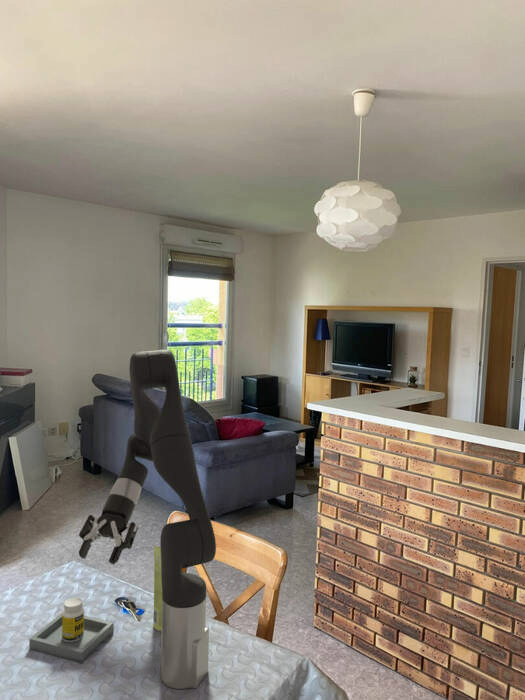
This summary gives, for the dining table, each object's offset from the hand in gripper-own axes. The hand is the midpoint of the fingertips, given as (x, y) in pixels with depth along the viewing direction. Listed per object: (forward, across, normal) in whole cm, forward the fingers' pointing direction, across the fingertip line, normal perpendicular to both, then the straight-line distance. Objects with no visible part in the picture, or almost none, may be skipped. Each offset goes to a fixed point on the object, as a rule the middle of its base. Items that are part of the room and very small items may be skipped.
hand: (96, 560), depth 131 cm
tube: (+9, +17, +13) cm, 23 cm away
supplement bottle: (+17, 0, +4) cm, 17 cm away
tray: (+17, 0, +4) cm, 18 cm away
